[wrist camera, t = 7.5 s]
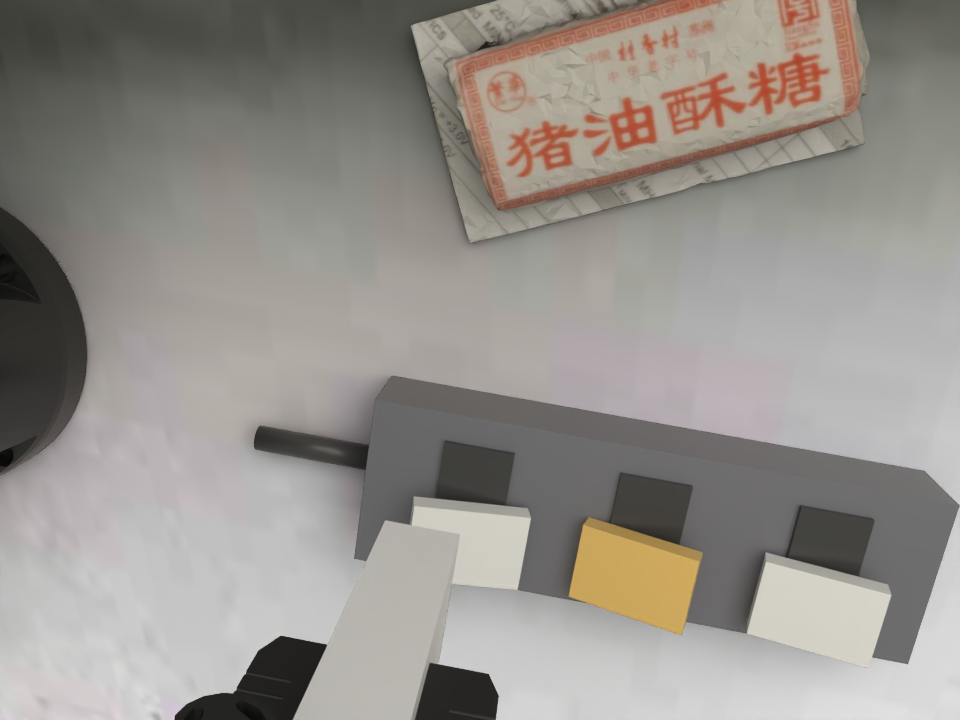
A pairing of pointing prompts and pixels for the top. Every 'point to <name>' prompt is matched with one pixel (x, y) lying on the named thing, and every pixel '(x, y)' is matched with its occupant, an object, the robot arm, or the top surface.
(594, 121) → the packaged product
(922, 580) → the power strip
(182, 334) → the top surface
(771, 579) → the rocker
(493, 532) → the white box
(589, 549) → the yellow box
